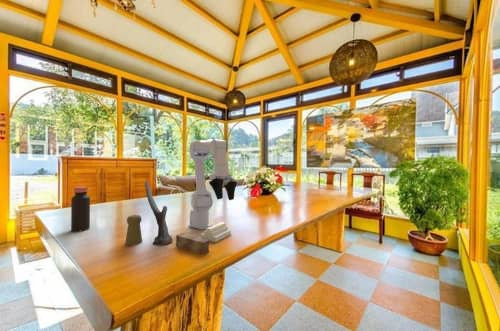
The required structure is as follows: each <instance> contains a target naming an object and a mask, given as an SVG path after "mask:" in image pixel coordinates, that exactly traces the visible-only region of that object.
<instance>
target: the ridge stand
mask: <svg viewBox="0 0 500 331" xmlns="http://www.w3.org/2000/svg"><path fill="white" fill-rule="evenodd" d="M231 231H232V230H231V229H228V225H227V223H226V221H225V222H223V221H220V222H218V223H215V224H212V226H210V227H207V228H205V230H204V232H202V233H201V234H200V238H203V239H207V240H209V242H212V243H213V242H214V243H218V242H219V241H221V240H222V239H225V238H227V237H228V236H231Z"/></svg>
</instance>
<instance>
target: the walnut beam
mask: <svg viewBox="0 0 500 331" xmlns="http://www.w3.org/2000/svg"><path fill="white" fill-rule="evenodd" d="M175 237H176V238H175V241H176V242H175V246H176V247H179V248H182V249H185V250H188V251H191V252H194V253H197V254H200V255H205V254H207V253H208V252H210V251H209V250H210V241H209V240H207V239H203V238H201V237H198V236H195V235H191V234H187V233H185V232H184V233H183V232H181V233H179V234H176V236H175Z"/></svg>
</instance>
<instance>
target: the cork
mask: <svg viewBox="0 0 500 331" xmlns="http://www.w3.org/2000/svg"><path fill="white" fill-rule="evenodd" d="M141 223H142V216H141V215H140V214H132V215H129V216H127V218H126V224H128V225H127V232H126V235H125V236H126V237H125V245H126V246H136V245H139V244H142V242H143V238H142V237H143V236H142V230H141V229H142V228H141Z"/></svg>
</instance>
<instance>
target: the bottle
mask: <svg viewBox="0 0 500 331" xmlns="http://www.w3.org/2000/svg"><path fill="white" fill-rule="evenodd" d="M88 191H89V190H88V186H76V187H75V186H74V187H73V193H74V196H72V197H71V205H70V206H71V209H70V210H71V217H70V231H71V232H74V233H75V232H77V233H78V232H83V231H87V230H90V227H91V224H90V223H91V197H90V195H88Z"/></svg>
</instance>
